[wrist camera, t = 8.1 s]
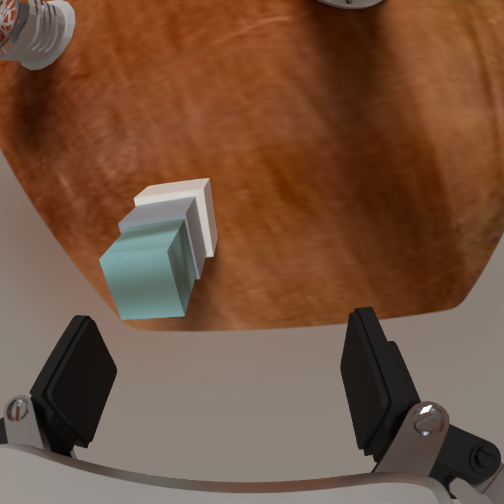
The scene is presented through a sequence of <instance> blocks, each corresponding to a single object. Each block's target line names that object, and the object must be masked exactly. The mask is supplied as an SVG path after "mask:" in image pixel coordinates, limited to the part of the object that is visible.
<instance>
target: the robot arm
mask: <svg viewBox="0 0 504 504" xmlns="http://www.w3.org/2000/svg"><path fill="white" fill-rule="evenodd" d="M317 1H319V2H322V3H324V4H326V5H329V6H333V7H337V8H342V9H363V8H368V7H371V6H373V5H376V4H377V3H379V2H380V1H382V0H317ZM345 1H346V2H348V4H347V3H346V2H345ZM340 368H341V375H342V379H343V383H344V387H345V391H346V396H347V400H348V404H349V409H350V413H351V417H352V422H353V427H354V431H355V436H356V441H357V445H358V448H359V449H360V450H361V449H363V450H364V455H365V456H368V455H373V458H374V461H375V462H377V464H376V465H375V467H374V468H373V470H372V471H371V473H364V474H356V475H348V476H339V477H331V478H322V479H313V480H299V481H284V482H256V483H255V482H254V483H242V482H240V483H239V482H237V483H236V482H211V481H197V480H185V479H176V478H167V477H160V476H153V475H146V474H140V473H135V472H129V471H124V470H119V469H114V468H110V467H105V466H101V465H97V464H93V463H89V462H85V461H81V460H78V459H77V457H76V455H75V452H74V450H73V447H74V444H75V445H76V446H80V447H83V448H88V445H89V442H92V440H93V438H94V435H95V432H96V429H97V426H98V424H99V421H100V418H101V415H102V412H103V409H104V407H105V404H106V401H107V398H108V396H109V393H110V390H111V388H112V385H113V383H114V380H115V377H116V374H117V368H116V365H115V363H114V361H113V359H112V357H111V355H110V353H109V351H108V349H107V347H106V345H105V343H104V341H103V339H102V336H101V334H100V332H99V330H98V328H97V325H96V323H95V321H94V320H92V319H91V317H90V316H82V315H76V316H74V317H73V319H72V320H71V322H70V324H69V325H68V327H67V328H66V330H65V331H64V333H63V335H62V336H61V338H60V340H59V341H58V343H57V345H56V346H55V348H54V350H53V351H52V353H51V355H50V356H49V358H48V360H47V362H46V363H45V365H44V367H43V369H42V371H41V372H40V374H39V376H38V377H37V379H36V381H35V383H34V385H33V387H32V389H31V390H30V394H31V395H32V397H31V398H29V397H27V396H25V395H18V396H15V397H13V398H12V399H10V401H8V403H7V404H6V406H5V409H4V417H3V418H1V419H0V504H453V502H452V499H459V500H460V501H461V502H462V503H463V504H504V464H503V463H502V462H501V455H500V452H499V450H498V448H497V447H496V446H495V445H494V444H493V443H491V442H489V441H486V440H484V439H482V438H480V437H477V436H475V435H473V434H471V433H468V432H466V431H464V430H462V429H459V428H457V427H455V426H453V425H451V424H449V423H450V421H449V415H448V414H447V412H446V410H445V409H444V408H443V407H442V406H441V405H439V404H437V403H434V402H430V401H427V402H421V401H420V398H419V396H418V393H417V391H416V389H415V386H414V383H413V381H412V379H411V376H410V374H409V371H408V369H407V367H406V364H405V362H404V360H403V357H402V355H401V353H400V351H399V348H398V346H397V345H396V343H395V342H394V341H387V339H386V337H385V335H384V332H383V330H382V328H381V326H380V323H379V321H378V319H377V317H376V314H375V312H374V310H373V308H372V307H364V308H356V309H355V311H354V313H350V315H349V320H348V326H347V332H346V338H345V343H344V349H343V354H342V359H341V367H340Z"/></svg>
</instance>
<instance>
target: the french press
mask: <svg viewBox="0 0 504 504" xmlns="http://www.w3.org/2000/svg"><path fill="white" fill-rule="evenodd" d="M28 1H29V4H26V3H22V2H21V0H0V48H1V49H2V51H3V52H4V54H5V55H2V53H1V52H0V60H11V61H20V63H21V65H22V66H24V67H25V68H27V69H29V70H38V69H42V68H44V67H46V66H48V65H50V64H52V63H53V62H54V61H55V60H56V59H57V58H58V57H59V56H60V55H61V54H62V53H63V52H64V50H65V48H66V46H67V45H68V43H69V41H70V40H71V38H72V34H73V30H74V27H75V13H74V10H73V8H72V7H71V6H70V4H69V3H68V2H65V1H62V0H54V1H49V2H47V3H46V2H44V1H41V0H28ZM35 3H37V4H38V7H35ZM41 5H42V6H41ZM18 19H21V20H20V21H19V22H18V23H17V20H18ZM16 23H17V24H16ZM10 36H11V39H10V43H11V45H12V48H11V49H10V47H9V44H8V39H9V37H10ZM4 44H6V47H7V49H8V52H6V50H5V48H4V46H3V45H4Z"/></svg>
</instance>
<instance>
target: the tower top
mask: <svg viewBox="0 0 504 504" xmlns="http://www.w3.org/2000/svg"><path fill="white" fill-rule="evenodd" d="M179 219H185V223H186V228H187V233H188V237H189V242H190V247H191V251H192V256H193V260H194V265H195V269H196V273H197V274H196V277H195V279H200V277H201V273H202V269H203V265H204V262H205V258H206V254H207V253H206V248H205V243H204V238H203V233H202V228H201V223H200V217H199V212H198V207H197V201H196V196H193V197H187V198H180V199H174V200H168V201H161V202H155V203H150V204H144V205H138V206H136V207H135V208H134V209H133V210H132V211H131V212H130V213H129V214H128V215H127V216H126V217H125V218H124V219H123V220H122V221H121V222H120V223H119V224H118V225H119V228H120V232H121V234H122V233H123V232H124V231H125V230H126V229H127V228H128V227H132V226H138V225H144V224H151V223H158V222H165V221H172V220H179Z"/></svg>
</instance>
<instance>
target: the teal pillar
mask: <svg viewBox="0 0 504 504" xmlns="http://www.w3.org/2000/svg"><path fill="white" fill-rule="evenodd" d="M99 261H100V264H101V267H102V270H103V273H104V275H105V278H106V281H107V284H108V286H109V289H110V292H111V294H112V297H113V300H114V302H115V305H116V307H117V310H118V312H119V315H120V317H121V320H127V319H147V318H164V317H179V316H185V313H186V310H187V306H188V302H189V299H190V295H191V291H192V288H193V284H194V281H195V277H196V274H197V273H196V269H195V265H194V260H193V256H192V251H191V247H190V242H189V237H188V233H187V228H186V223H185V219H179V220H172V221H165V222H158V223H151V224H144V225H138V226H132V227H128V228H127V229H126V230H125V231H124V232H123V233H122V234H121V235H120V237H119V238H118V239H117V240H116V241H115V242H114V243H113V244H112V246H111V247H110V248H109V249H108V250H107V251H106V252H105V254H104V255H103V256H102V257H101V258H100V259H99Z"/></svg>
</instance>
